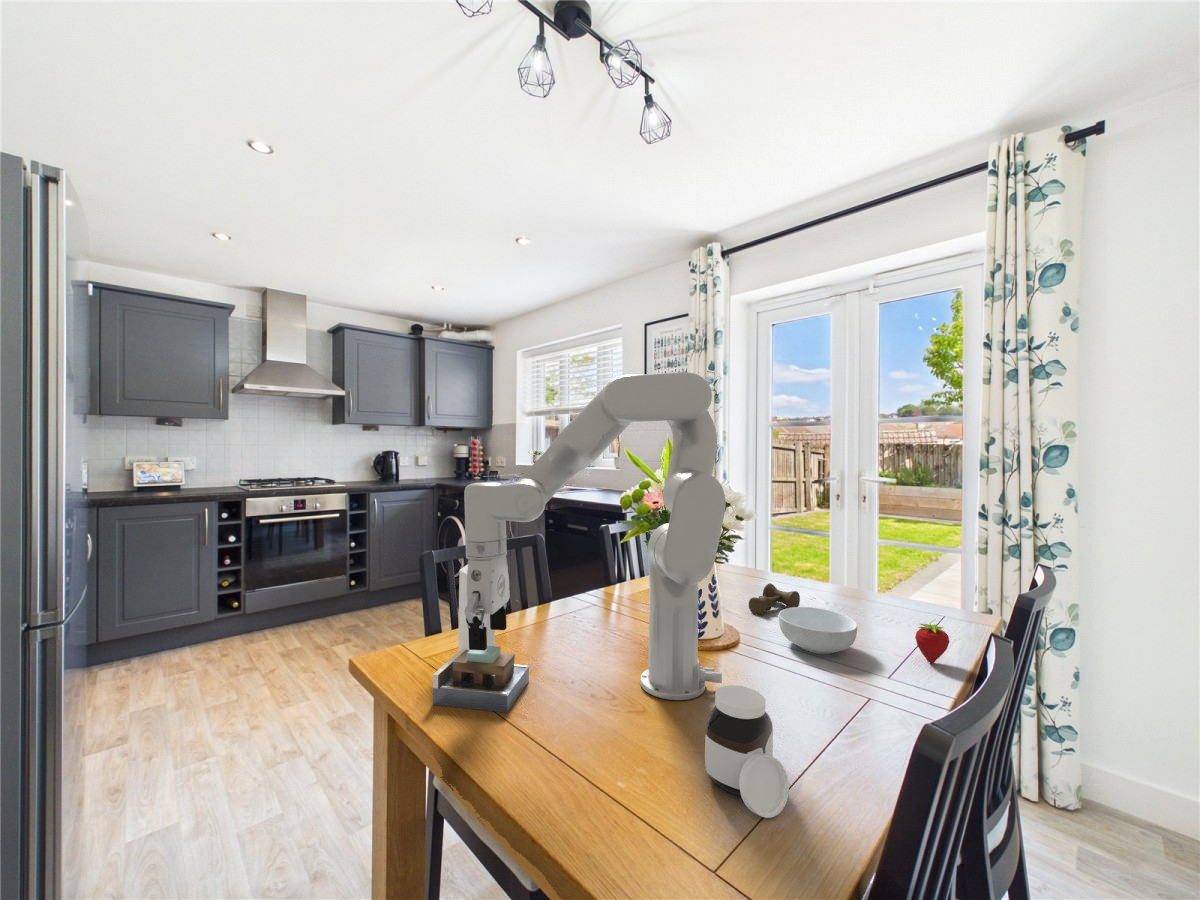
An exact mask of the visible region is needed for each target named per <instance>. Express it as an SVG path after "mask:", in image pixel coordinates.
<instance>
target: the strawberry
mask: <svg viewBox="0 0 1200 900" xmlns="http://www.w3.org/2000/svg"><path fill="white" fill-rule="evenodd" d="M935 620H937V619H936V618H935V619H933V620H932V621H931V623H929V624H928V623H919V625H921V626H918V629H917V631H916V633H915V637H914V638H915V642H916V645H917V647H918V649H919V651H920V652H921V654H922V655H923V657H924V658H925V660H926V661H927V662H928V663H929V662H930V663H929V664H934V663H935V662H937V660H938V659H939V658H941V657H942V656H943V655H944V653H945V652H946V651H947V649H948V647H949V644H950V638H949V634H947V633H946V631H944V630H942V629H944V627H942V626H939V625H938V626H937V624H935V623H934V624H932V622H935Z"/></svg>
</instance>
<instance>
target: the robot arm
mask: <svg viewBox="0 0 1200 900" xmlns="http://www.w3.org/2000/svg"><path fill="white" fill-rule="evenodd" d="M712 392H713V391H712V389H711V386H710V384H709V383H708V381H707V380H706V379H705V378H704V377H703V376H701V375H699V374H698V373H694V372H688V371H687V372H670V373H669V372H668V373H667V372H666V373H648V374H647V373H646V374H645V373H643V374H625V375H620V376H616V377H614V378H613V379H612V380H610V381H609V382H608V383H607V384H606V385H605V386H604V387H603V388H602V389H601V390H600V391H599V392H598V393H597V394H596V395H595V396H594V398H593V399H591V400H590V402H589V403H588V404H587V405H586V406H584V408H582V410H581V411H580V412H578V414H577V415H576V416H575V417H574V418H573V419H572V420H571V421H570V422H569V423H568V424H567V425H566V426H565V427H564V428H563V429H562V430H561V431H560V432H559V434H558V435H557V436H556V437H555V438H554V440H553V442H552V443H551V444H550V445H549V447H548V448H547V449H546V450H545V452H543V454H542V455H541V456H540V457H539V458H538V459H537V460H536V461H535V462H534V463H533V464H532V465H531V466H530V467H529V468H528V469H527V470H526V471H525V472H524V473H523V474H522V475H521V477H519V479H517V480H516V481H515V482H512V483H508V484H507V483H506V484H502V483H501V482H494V481H493V482H492V481H490V482H489V481H488V482H487V481H486V482H485V481H484V482H474V483H470V484H468V485H467V486H466V487H465V488H464V494H463V496H464V528H465V529H464V531H465V533H464V534H465V537H464V538H465V559H467V564H468V570H467V606H466V608H465V615H466V622H467V628H468V630H469V649H470V650H486V649H487V628H486V627H484V625H485V621H486V617H487V613H489V614H490V629H491V630H495V631H505V630H506V629H507V609H506V608H507V605H508V604H507V603H508V602H509V600H510V597H511V596H510V595H511V594H510V593H511V592H510V579H509V567H508V560H507V555H508V554H507V553H508V548H507V546H508V545H507V521H509V522H518V523H529V522H533V521H535V520H537V519H538V518H539V517H541V515H542V514H543V512H544V510H545V508H546V504H547V503H548V502H549V501H550V500H551V499H552V498H553V497H554V495H556V494H557V493H558V491H559V490H561V488H563V486H564V485H566V483H567V482H568V481H569V480H571V479H572V478H573V477H574V476H576V475H577V474H578V473H581V472H582V471H583V470H585V469H586V468H588V467H589V466H590V465H591V464H593V463H594V462H595V461H596V460H598V458H599V456H601V455H602V454H603V453H604V452H605V450H606V449H607V448H608V447H609V446H610V445H611V444H612V443H613V442H614V441H615V440H616V439H618V437H619V436H620V435H621V434H622V433H623V431H625V429H626V428H628V427H629V426H630V424H632V423H633V422H636V423H637V422H664V421H666V422H667V424H668V425H669V427H670V430H671V433H672V447H671V452H670V453H671V454H670V460H669V464H668V469H667V473H666V474H667V475H666V478H665V482H664V486H663V490H662V501H663V504H664V506H665V508H666V510H668V511H669V512H670V516H669V521H668V523H663V524H661V525H660V526H658V527H657V528H655V529H654V531H653V532H652V533H651V535H650V537H649V540H648V544H647V565H648V577H649V578H648V579H649V581H648V582H649V584H648V585H649V588H648V589H649V594H648V595H649V598H648V599H649V603H648V604H649V605H648V663H647V666H648V667H647V669H646V670H643V672H642V673H641V674H640V677H639V678H640V679H639V680H640V681H639V683H640V686H641V688H642V689H643V690H644V691H645V692H647V694H650V695H652V696H653V697H657V698H659V699H664V700H668V701H669V700H670V701H685V700H687V701H688V700H692V699H695V698H697V697H698V698H699V696H701V695H702V694H703V693H704V692H705V690H706V682H710V683H714V684H722V682H723V677H722V675H723V674H722V672H721V671H715V667H708V666H707V667H706V666H703V665H702V664H700V658H699V657H698V656H699V655H698V654H699V653H698V650H699V648H698V647H699V646H698V645H699V644H698V643H699V640H698V639H699V601H700V600H699V599H700V598H699V583H701V582H702V581H703V580H705V579H706V578H707V577H708V576H709V574H710V572H711V570H712V568H713V566H714V563H715V560H716V556H717V554H718V553H717V552H718V548H719V542H720V538H721V533H722V530H723V529H722V528H723V524H724V518H725V512H726V505H727V503H726V494H725V491H724V488H723V485H722V484H721V482H720V481H719V480H718V479H717V478H716V477H715V476H713V472H714V466H715V459H716V454H717V453H716V452H717V447H718V446H717V443H718V435H717V430H716V425H715V422H714V421H713V419H712V415H711V414H710V411H708V409H709V408H710V406H711V403H712V401H713V393H712ZM478 609H484V610H478ZM475 615H481V619H480V620H479V618H478V617H477V616H475Z"/></svg>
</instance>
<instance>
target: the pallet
mask: <svg viewBox="0 0 1200 900" xmlns="http://www.w3.org/2000/svg"><path fill="white" fill-rule="evenodd" d="M469 651H470V650H465V651H464V652H463V653H462V654H461V655H459V656H458V657H457V658H456V659H455V660H454V661H453V681H462V680H463V679H464V678H465V677H466V676H467V675H468V674H469V673H474V683H481V684H482V683H483V682H484V681H485V680H486V679H487V677H488V676H489V675H495V685H502V686H504V684H505V683H506V682H507V681H508V679H509V678H510V677H511V675H512V674H513V673H514V664H515V659H516V657H515V656H516V655H515V653H506V652H504V653H503V652H501V655H500V656H499V657H498V658H497V659H496V660H495V661H494V662H493V663H482V662H471V661H467V653H468V652H469Z"/></svg>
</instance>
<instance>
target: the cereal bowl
mask: <svg viewBox="0 0 1200 900" xmlns="http://www.w3.org/2000/svg"><path fill="white" fill-rule="evenodd" d="M778 625H779V628H780V629H779V630H780V631H781V633H782V634H783V635H784V637H785V638H786V639H787V640H788V641H789V642H791V643H792V644H794V645H796V646H798V647H799V648H801V649H802V650H804V651H806V652H808V651H809V652H808V653H812V654H815V655H816V654H817V655H829V654H830V653H831V654H833V653H838V652H842V651H845V650H848V649H849V648H850V647H852V645H853V644H854V642H855V641H856V639H857V635H858V634H857V633H858V624H857V622H856V621H855V620H854V619H852V618H851V617H850V616H847V615H845V614H842V613H839V612H837V611H833V610H830V609H823V608H819V607H812V606H811V607H809V606H798V607H792V608H788V607H787V608H785V609H781V610H780V611H779V613H778Z"/></svg>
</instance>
